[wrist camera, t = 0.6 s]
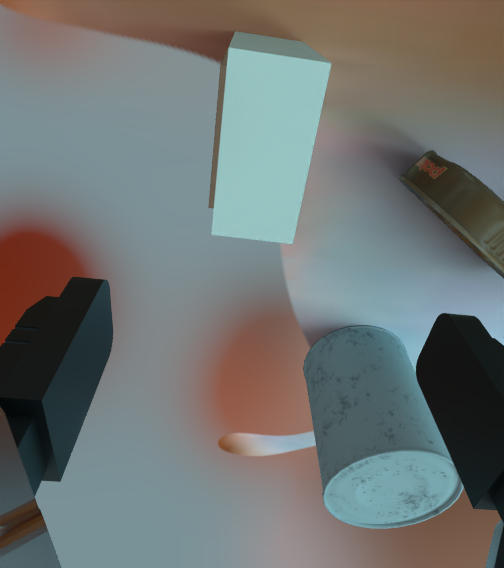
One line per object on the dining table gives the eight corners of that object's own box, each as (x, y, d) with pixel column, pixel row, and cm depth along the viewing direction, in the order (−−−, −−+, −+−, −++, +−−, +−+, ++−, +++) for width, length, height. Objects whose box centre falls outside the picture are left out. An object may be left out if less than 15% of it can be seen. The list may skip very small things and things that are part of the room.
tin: (382, 163, 29) (425, 216, 22) (419, 126, 27) (478, 169, 20) (504, 280, 34) (571, 352, 27) (541, 254, 33) (620, 323, 26)
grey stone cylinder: (315, 408, 43) (337, 537, 32) (292, 339, 37) (309, 467, 27) (411, 388, 41) (466, 516, 31) (401, 313, 36) (462, 438, 26)
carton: (303, 41, 25) (331, 63, 16) (279, 174, 29) (292, 244, 21) (229, 30, 24) (220, 46, 16) (217, 166, 29) (205, 234, 20)
